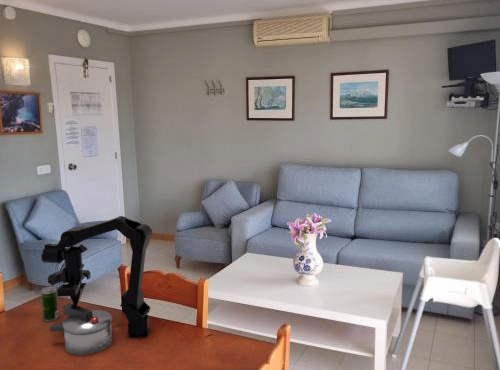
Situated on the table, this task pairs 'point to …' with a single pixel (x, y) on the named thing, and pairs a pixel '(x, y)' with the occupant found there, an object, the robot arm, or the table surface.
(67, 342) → the cooker pot
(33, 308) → the table surface
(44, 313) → the beer can
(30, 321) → the table surface
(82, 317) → the cooker lid
